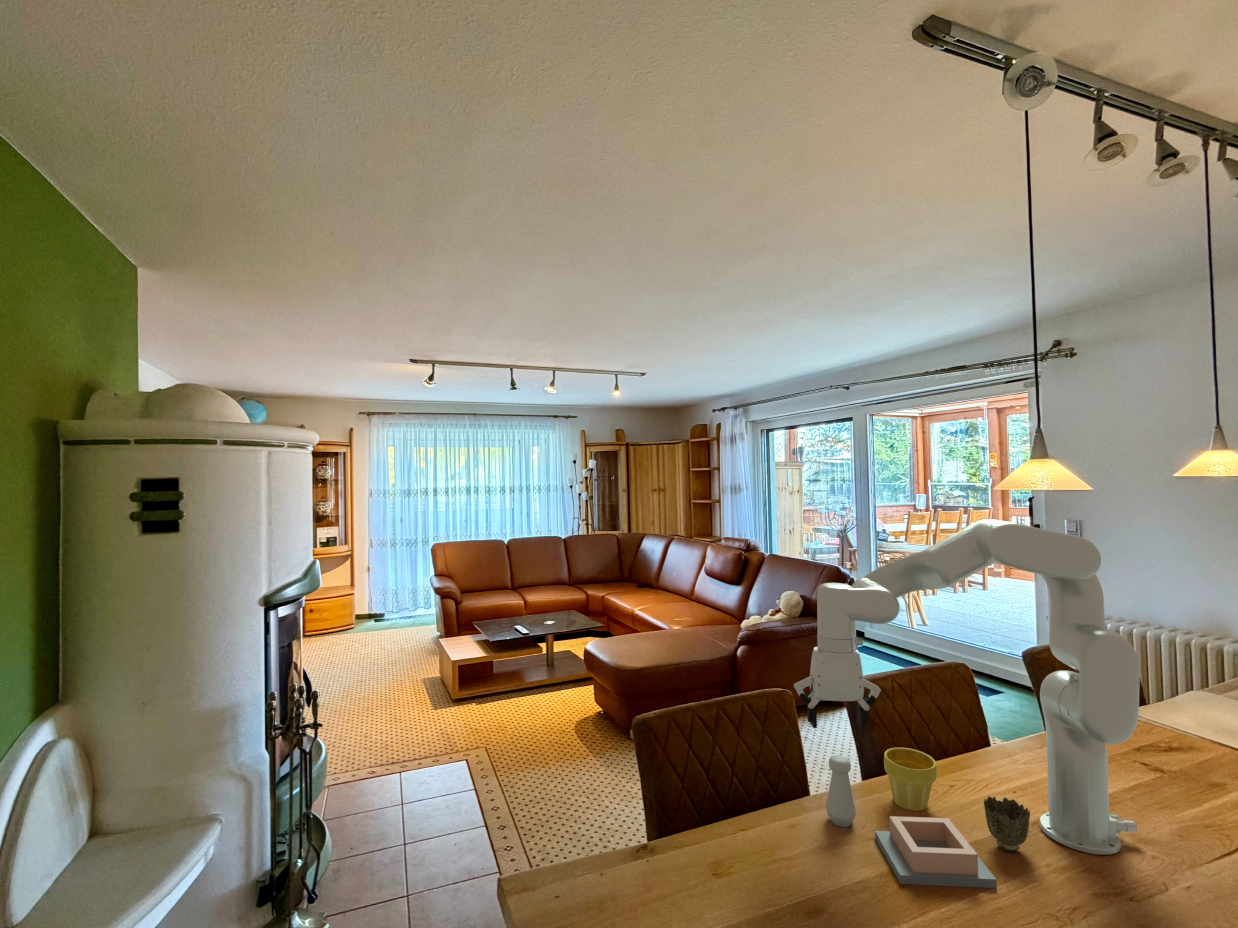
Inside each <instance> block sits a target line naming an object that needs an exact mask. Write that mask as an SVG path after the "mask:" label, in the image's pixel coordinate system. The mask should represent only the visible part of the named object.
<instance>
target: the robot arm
mask: <svg viewBox="0 0 1238 928" xmlns="http://www.w3.org/2000/svg"><path fill="white" fill-rule="evenodd" d="M994 564H996V565H1001V566H1005V567H1008V568H1012V569H1015V570H1020V571H1025V572H1028V573H1033V574H1038V575H1040V576H1041V577H1042V578H1043V580H1044V582H1045V583H1046V585H1047V588H1048V592H1049V606H1050V609H1049V634H1048V635H1049V639H1048V641H1049V642H1048V643H1049V649H1050V651H1051V653H1052V655H1053V656H1054V657H1055V658H1056V659H1057V660H1058V661H1059V662H1062V663H1063V664H1065V665H1066V666H1068V667H1070V668H1072V669H1073V670H1076V671H1078V672H1076V671H1071V670H1056V671H1053V672H1051V673H1049V674H1048V675H1047V676H1045V678H1044V679H1043V680H1042V682H1041V685H1040V688H1039V689H1040V690H1039V699H1040V705H1041V709H1042V714H1043V718H1044V719H1043V720H1044V725H1045V733H1046V734H1045V736H1046V737H1045V738H1046V764H1047V765H1046V767H1047V769H1046V770H1047V772H1046V773H1047V796H1048V797H1047V801H1048V803H1047V804H1048V805H1047V806H1048V812H1045V813H1043V814H1042V815H1041V816H1040V817H1039V827H1040V829H1041V831H1042V832H1043V833H1044V834H1046V835H1047V836H1048V837H1049V838H1050V839H1052V840H1053V841H1055V842H1057V843H1059V844H1060V845H1062V846H1065V847H1068V848H1069V849H1072V850H1075V851H1080V852H1083V853H1085V854H1092V855H1099V856H1100V855H1101V856H1102V855H1103V856H1105V855H1106V856H1109V855H1114V854H1116V853H1118V852H1119V851H1120V850H1121V848H1122V846H1121V843H1122V842H1121V839H1120V837H1119V836H1118V835H1117V834H1120V833H1121V832H1126V833H1137V832H1138V826H1137V824H1136V822H1135V821H1134V820H1128V819H1127V820H1126V819H1125V820H1124V819H1122V820H1120V819H1121V818H1120V817H1119V815H1118V814H1110V802H1109V801H1110V800H1109V799H1110V798H1109V796H1110V795H1109V776H1108V775H1109V769H1108V768H1109V767H1108V766H1109V765H1108V761H1109V760H1108V758H1109V757H1108V750H1107V749H1108V748H1107V745H1117V744H1121V743H1124V742H1126V741H1128V740H1129V738H1131V737H1132V736H1133V734H1134V733H1135V731H1136V728H1137V726H1138V722H1139V721H1138V720H1139V711H1140V709H1139V708H1140V707H1139V706H1140V681H1141V680H1140V679H1141V677H1140V676H1141V673H1140V672H1141V669H1140V667H1141V666H1140V665H1141V664H1140V660H1139V656H1138V654H1137V651H1136V649H1135V648H1134V646H1133V645H1132V643H1130V641H1129V640H1128V639H1126V638H1125V637H1124V636H1123V635H1121V634H1120V633H1117V632H1115V631H1113V630H1111V629H1108V628H1106V623H1105V622H1106V621H1105V601H1104V600H1105V599H1104V592H1103V588H1102V585H1101V583H1100V579H1099V578H1098V576H1097V572H1098V571H1099V569H1100V567H1101V565H1102V557H1101V553H1100V550H1099V549H1098V547H1097V546H1096V544H1094V543H1093V542H1091V540H1089V539H1087V538H1085V537H1082V536H1081V535H1080V536H1079V535H1074V534H1070V533H1063V532H1058V531H1053V530H1048V529H1043V528H1039V527H1034V526H1030V525H1026V524H1023V523H1022V524H1021V523H1018V522H1013V521H1008V520H1002V519H1001V520H1000V519H995V518H984V519H979V520H977V521H975V522H973V523H971V524H969V525H967V526H966V527H963V528H961V529H960V530H958V531H957V532H954V533H953V534H951V535H949V536H947V537H945V538H943V539H942V540H940V541H938V542H936V543H935V544H932V545H931V546H929V547H927V548H925V549H923V550H921V551H917V552H915V553H913V554H910V555H907V556H905V557H902V558H899V559H897V560H894V561H893V560H892V561H890V562H889V563H886V564H883V565H882V566H880V567H878V568H876V569H874V570H873V571H870V572H868V573H867V574H865V575H864V576H862V577H859V578H858V579H857V580H856V581H855V582H853V583H852V585H849V584H846V583H841V582H825V583H821V584H820V585H818V587H817V592H816V593H817V595H816V597H817V598H816V600H817V602H816V603H817V605H816V606H817V610H816V611H817V612H816V613H817V614H816V615H817V616H816V617H817V622H816V623H817V624H816V625H817V628H816V629H817V646H814V647H813V650H812V653H811V654H812V655H811V661H810V668H809V669H810V670H809V671H810V672H809V676H807V677H805V678H803V679H801V680H799V681H797V682H795V683H793V687H794V689H795V691H796V693H797V695H798V696H799V698H800V700H801V701H802V702H803V703H804V704H805V705H806V706H807V708H806V709H807V710H806V711H807V712H806V713H807V715H806V717H807V722H808V723H810V725H811V727H812V728H813V729H817V727H818V725H817V724H818V718H817V717H818V716H817V715H818V711H817V708H816V705H818V704H819V702H820V701H835V702H837V701H838V702H857V703H858V704H857V705H856V725H857V726H858V727H859V729H860V730H862V731H866V725H867V724H868V711H869V710H870V707H872V705H874V704H875V703H876V702H877V698H878V697H879V696H880V693H881V690H882V689H881V688H880V687H879V686H878V685H877V684H875V683H873V682H871V681H869V680H868V679H865V678H864V675H863V673H864V671H863V665H862V659H861V656H860V651H859V650H858V647H859V646H863V645H864V640H863V638H858V637H857V631H856V630H857V625H856V624H857V623H856V622H857V621H858V622H861V623H862V622H864V623H868V624H873V625H874V624H875V625H886V624H889V623H891V622H893V621H895V620H896V619H897V617H898V616H899V613H900V609H901V607H900V602H899V599H898V598H900V597H902V596H906V595H908V594H911V593H913V592H917V591H924V590H925V591H926V590H939V589H946V588H951V587H952V586H954V585H956V584H959V583H960V582H962V581H964V580H966V579H967V578H970V577H971V576H972V575H974V574H977V573H978V572H980V571H982V570H985V569H986V568H988V567H990V566H992V565H994ZM807 687H809V690H810V691H811V692H810V694H808V695H807V694H806V693H805V692H804V689H805V688H807ZM865 688H867V689H869V690H870V692H869V694H867V695H866V696H865ZM864 696H865V697H864Z"/></svg>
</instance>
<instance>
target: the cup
mask: <svg viewBox="0 0 1238 928" xmlns="http://www.w3.org/2000/svg"><path fill="white" fill-rule="evenodd" d="M983 807H984V813H985V819H986V825H987V828H988V830H989V832H990V834H991V835H992V837H993V838H994V839H996V840H995V842H996V845H997V847H998V848H999V849H1001V850H1002V851H1003V852H1007V853H1018V851H1019V850H1020V845H1023V844H1024V843H1025V842H1026V840H1027V837H1028V835H1029V828H1030V819H1031V812H1030V810H1029V808H1028V807H1026V808H1025V806H1024V805H1023V803H1021V804H1019V803H1018V802H1017V801H1016V799H1008V798H1007V797H1003V799H1002V800H1001V799H999V800H998V799H996V796H990V795H989V796H987V798H984V800H983Z"/></svg>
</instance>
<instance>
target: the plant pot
mask: <svg viewBox="0 0 1238 928" xmlns="http://www.w3.org/2000/svg"><path fill="white" fill-rule="evenodd" d="M883 767H884V771H885V773H886V774H887V776H888V780H889V785H890V789H891V795H892V801H894V803H895V804H896V805H897V806H899V807H900V808H902V809H905V810H906V811H907V810H908V811H910V812H911V811H913V812H922V811H925V810H926V809H927V808H928V804H929V799H930V795H931V791H932V786H933V783H935V782H936V780H937V761H936V760H935V759H934V757H932V756H931V755H929V754H927V753H925V752H923V751H921V750H918V749H913V748H910V747H909V748H908V747H891V748H888V749H887V750H885V751H884V754H883Z"/></svg>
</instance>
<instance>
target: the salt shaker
mask: <svg viewBox="0 0 1238 928" xmlns="http://www.w3.org/2000/svg"><path fill="white" fill-rule="evenodd" d="M828 766H829V769H830V770H831V776H830V780H829V782H830V783H829V787H828V792H827V793H828V794H827V799H826V804H825V809H826V813H827V816H828V818H829V821H830V822H831V823H833V825H835V826H837V827H841V828H842V827H843V828H848V827H849V826H850V825H852V824H853V822H854V820H855V818H856V816H857V815H856V814H857V811H856V805H855V800H854V795H853V791H852V786H851V779H850V776H849V773H850V771H851V769H852V765H851V761H850V759H849V758H847V756H844V755H840V754H834V755H831V756H830V757H829V759H828Z"/></svg>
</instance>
